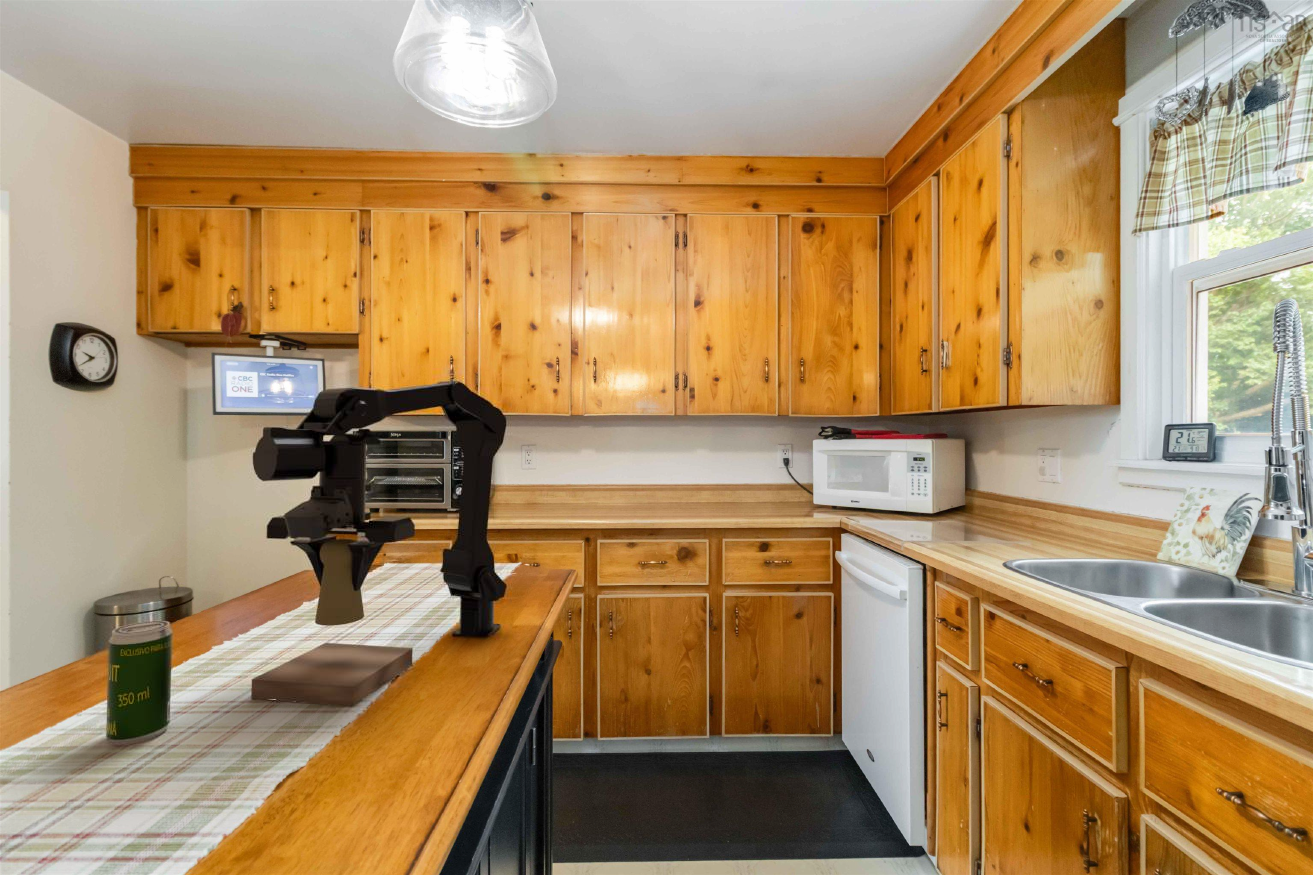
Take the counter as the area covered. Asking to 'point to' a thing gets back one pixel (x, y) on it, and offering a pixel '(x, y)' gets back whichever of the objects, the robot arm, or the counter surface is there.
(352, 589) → the olive brown game pawn
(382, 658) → the walnut base
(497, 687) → the counter surface
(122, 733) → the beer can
